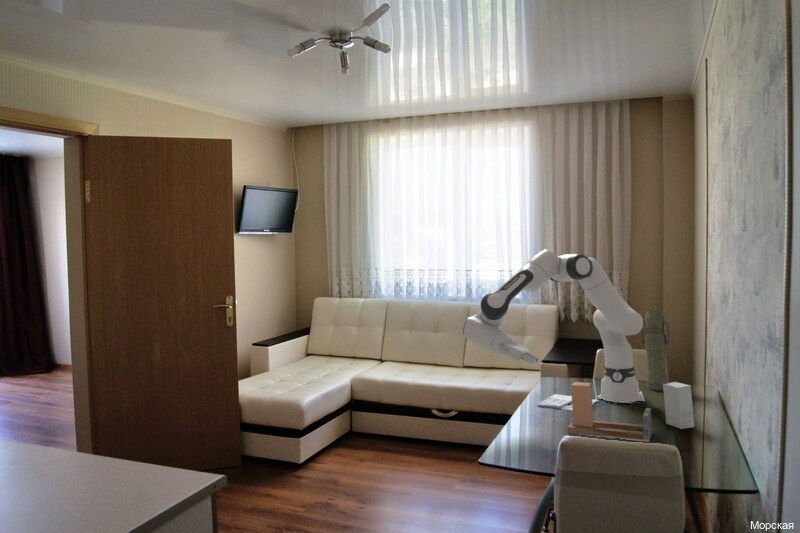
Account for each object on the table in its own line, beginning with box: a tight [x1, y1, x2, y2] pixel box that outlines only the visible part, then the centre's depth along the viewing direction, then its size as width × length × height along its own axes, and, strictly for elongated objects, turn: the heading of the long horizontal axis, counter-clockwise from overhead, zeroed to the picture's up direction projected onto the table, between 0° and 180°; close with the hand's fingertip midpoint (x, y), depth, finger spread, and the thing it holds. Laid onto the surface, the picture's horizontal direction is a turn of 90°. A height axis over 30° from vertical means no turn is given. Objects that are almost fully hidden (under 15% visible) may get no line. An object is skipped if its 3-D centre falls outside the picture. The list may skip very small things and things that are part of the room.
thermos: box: [640, 309, 671, 392], centre depth 266 cm, size 9×12×35 cm
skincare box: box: [662, 381, 695, 430], centre depth 213 cm, size 8×6×15 cm
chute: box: [566, 407, 653, 443], centre depth 208 cm, size 10×26×9 cm, turn 62°
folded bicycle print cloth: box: [536, 393, 600, 411], centre depth 249 cm, size 19×20×2 cm
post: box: [570, 381, 594, 427], centre depth 212 cm, size 5×6×16 cm
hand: (536, 361), depth 218 cm, fingers open, 8 cm apart
